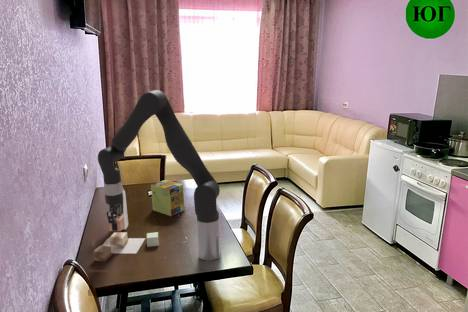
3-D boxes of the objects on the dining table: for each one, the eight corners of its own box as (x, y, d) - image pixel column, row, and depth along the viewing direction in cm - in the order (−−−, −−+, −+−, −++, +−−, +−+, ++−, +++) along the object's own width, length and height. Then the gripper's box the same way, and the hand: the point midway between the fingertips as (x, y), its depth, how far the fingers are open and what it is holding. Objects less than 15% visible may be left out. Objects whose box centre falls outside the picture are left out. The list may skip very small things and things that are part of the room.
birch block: (128, 242, 169) (127, 232, 168) (123, 248, 164) (122, 238, 162) (115, 242, 170) (114, 232, 168) (110, 248, 164) (109, 238, 163)
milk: (116, 225, 188) (112, 185, 183) (128, 225, 189) (124, 184, 183) (113, 231, 182) (108, 189, 177) (126, 230, 183) (121, 188, 177)
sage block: (158, 241, 171) (157, 232, 169) (158, 246, 166) (158, 236, 165) (147, 243, 170) (146, 233, 168) (147, 248, 165) (146, 238, 164)
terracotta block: (124, 226, 167) (123, 215, 166) (120, 231, 162) (119, 220, 161) (113, 226, 167) (112, 215, 166) (109, 231, 162) (108, 220, 161)
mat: (145, 239, 173) (145, 238, 173) (136, 254, 159) (136, 253, 159) (108, 239, 174) (108, 238, 174) (95, 254, 160) (95, 253, 160)
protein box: (171, 216, 198) (169, 189, 194) (152, 210, 207) (150, 184, 203) (185, 210, 206) (183, 184, 202) (166, 204, 215) (164, 179, 211)
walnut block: (111, 257, 158) (110, 246, 157) (105, 263, 153) (104, 252, 152) (101, 255, 159) (100, 245, 158) (94, 261, 155) (93, 251, 153)
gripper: (116, 197, 153) (119, 235, 157) (127, 186, 167) (130, 220, 171) (98, 197, 153) (102, 234, 158) (111, 186, 167) (115, 220, 172)
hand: (117, 227), depth 164 cm, fingers closed on terracotta block, 5 cm apart
